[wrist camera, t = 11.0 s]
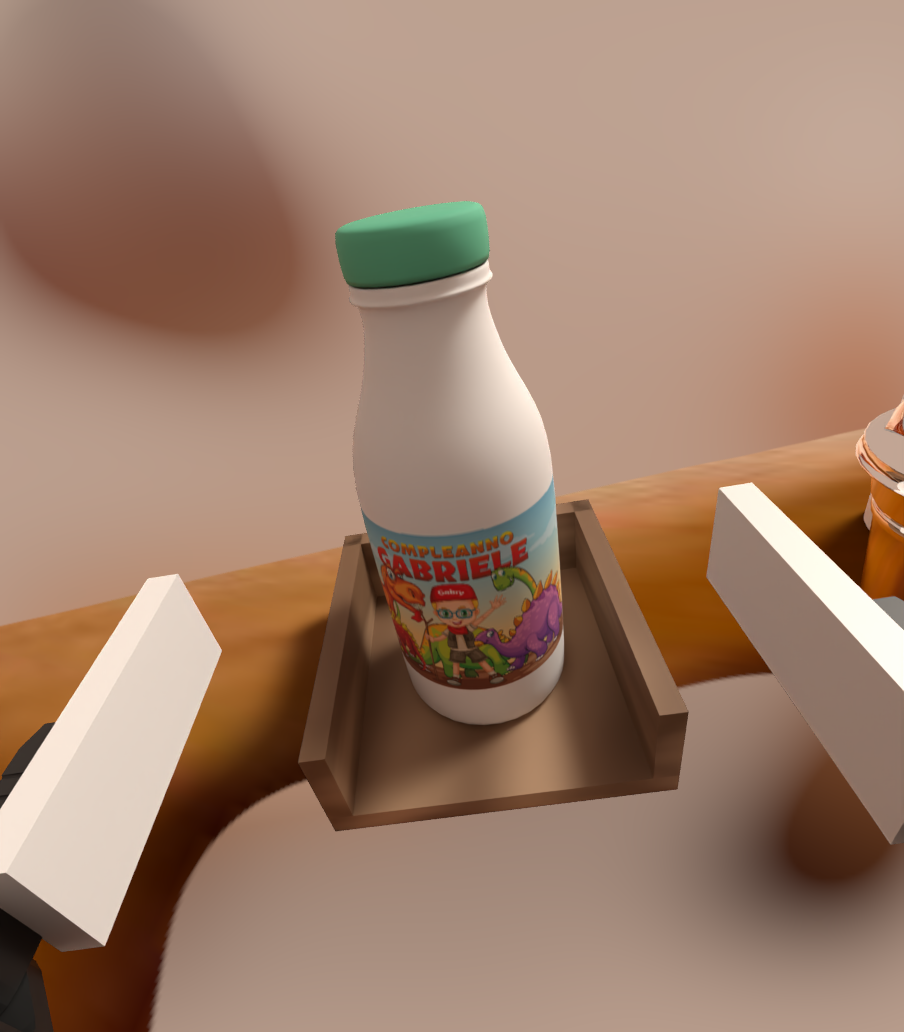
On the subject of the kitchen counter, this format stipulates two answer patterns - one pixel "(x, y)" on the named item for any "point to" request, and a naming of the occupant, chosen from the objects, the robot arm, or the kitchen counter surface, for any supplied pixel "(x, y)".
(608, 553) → the wooden tray
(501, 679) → the milk bottle
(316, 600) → the kitchen counter surface
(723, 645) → the kitchen counter surface
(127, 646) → the robot arm
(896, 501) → the cup with straw
